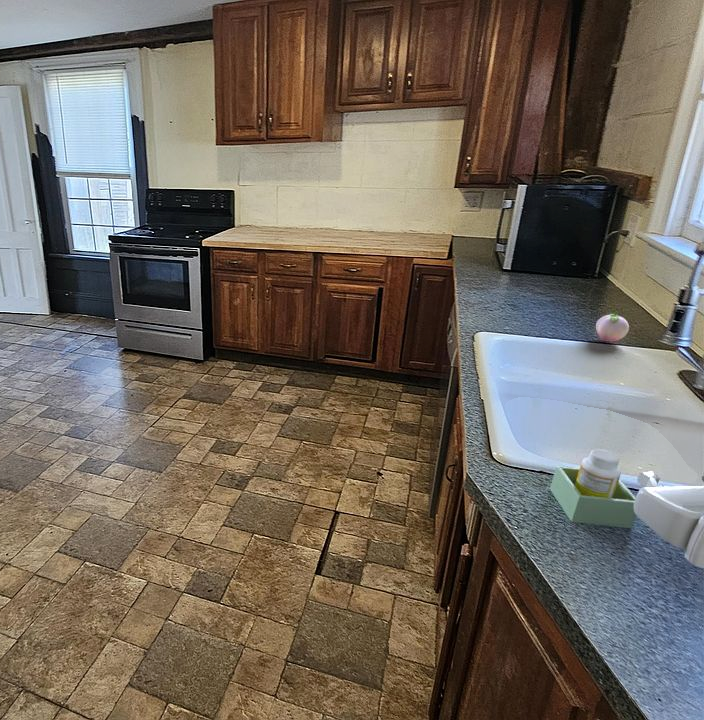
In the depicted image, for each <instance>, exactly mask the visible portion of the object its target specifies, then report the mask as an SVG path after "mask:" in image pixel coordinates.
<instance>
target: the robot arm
mask: <svg viewBox="0 0 704 720" xmlns="http://www.w3.org/2000/svg"><path fill="white" fill-rule="evenodd" d="M660 479H661V477H660V476H659V475H657V474H655V473H654V472H653V471H640V472H639V473H638V476H637V478H636V480H637V482H638V484H639V485H640V486H642V487H641V488H639V490H638V492H637V494H636V496H635V497H636V499H635V502H634V507H633V508H634V512H635V514H636V515H637V516H636V517H638V518H639V519H640V520H641V522H643V523H644V524H645V525H646V526H647V527H648V528H650V530H652V531H653V532H654V533H655V534H657V535H658V536H659V537H660V538H662V539H663V540H664V541H665V542H667V543H669V544H670V545H672V546H674V547H676V548H677V549H681V550H685V551H684V555H683V556H684V558H685V559H686V561H688V562H689V563H690V564H691V565H693V566H695V567H696V568H700V569H704V485H696V486H695V485H691V486H690V485H689V486H665V485H663V484H658V483H659V482H660ZM701 480H702V482H703V483H704V474H703V475H702V476H701Z"/></svg>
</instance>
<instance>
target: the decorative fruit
mask: <svg viewBox="0 0 704 720" xmlns="http://www.w3.org/2000/svg"><path fill="white" fill-rule="evenodd" d="M595 330H596V333H597V335H598V336H599V339H601V340H602V341H603V340H605V341H610V342H609V343H613V342H617V341H620V340H621V339H623V338H625V337H626V336H627V334H628V333H629V330H630V326H629V322H628V321H627V320H626V319H625V318H624V317H622V316H620V315H618V314H617V312H614V313H609V314H607V315H603V316H602V317H600V318H599V319H598V320H597V321H596V323H595ZM605 341H604V342H605Z"/></svg>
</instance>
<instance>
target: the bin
mask: <svg viewBox="0 0 704 720" xmlns="http://www.w3.org/2000/svg"><path fill="white" fill-rule="evenodd" d="M579 470H580V467H572V466H563V465H556V466H555V470H554V473H553V476H552V480H551V483H550V487H549V491H550V492H551V494H552V495H553V496H554V498H555V500H556V501H557V502H558V504H559V506H560V507H561V509H562V510H563V512H564V513H565V515H566V516H567V517H568V519H569V521H570V522H571V523H578V524H586V525H587V524H588V525H595V526H604V527H615V528H622V529H623V528H624V529H632V528H633V526H634V523H635V521H636V518H637V517H638V516H637V515H636V514H635V512H634V508H633V507H634V502H635V499H636V496H635V494H634V493H632V491H631V490H630V489H629V487H627V485H626V484H625V483H624V482H623V481H622V480H621V479H620V478H619V481H618V484H617V487H616V490H615V493H614V495H613V498H603V497H593V496H583V495H581V494H580V492H579V491H578V490H577V488H576V487H575V483H576V479H577V476H578V473H579Z"/></svg>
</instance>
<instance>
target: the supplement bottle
mask: <svg viewBox="0 0 704 720" xmlns="http://www.w3.org/2000/svg"><path fill="white" fill-rule="evenodd" d="M619 462H620V457H619V456H618V455H617V454H616V453H615V452H612V451H610V450H607V449H603V448H593V449H592V450H591V451H590V453H589V455H588V457H585V458H583V459H582V461H581V463H580V467H579V468H580V470H579V473H578V476H577V479H576V483H575V487H576V488H577V490H578V491H579V492H580V494H581V495H583V496H593V497H603V498H613V495H614V493H615V490H616V487H617V484H618V481H619V479H620V478H621V475H622V470H621V468H620V466H619Z"/></svg>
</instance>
